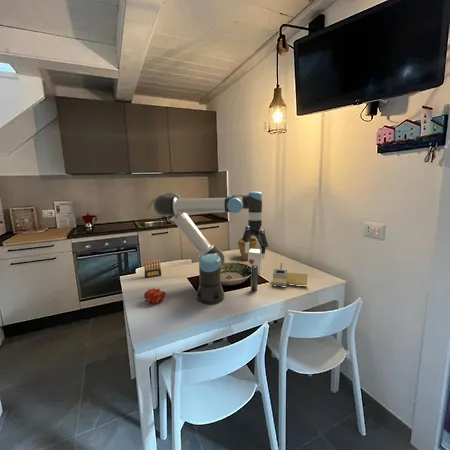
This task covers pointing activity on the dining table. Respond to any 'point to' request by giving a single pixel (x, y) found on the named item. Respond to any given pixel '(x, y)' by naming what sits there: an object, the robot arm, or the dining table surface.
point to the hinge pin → (254, 277)
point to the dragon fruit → (154, 295)
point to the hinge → (288, 277)
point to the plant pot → (242, 247)
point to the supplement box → (255, 259)
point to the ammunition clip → (152, 269)
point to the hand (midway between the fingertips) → (254, 255)
